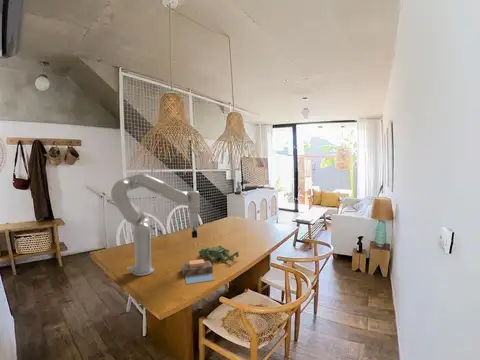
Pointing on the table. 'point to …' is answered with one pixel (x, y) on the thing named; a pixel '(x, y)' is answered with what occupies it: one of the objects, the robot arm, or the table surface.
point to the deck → (197, 269)
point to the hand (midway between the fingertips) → (194, 237)
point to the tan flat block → (196, 263)
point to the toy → (217, 253)
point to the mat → (199, 278)
